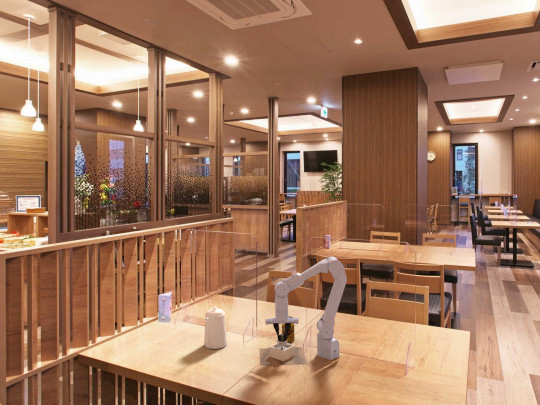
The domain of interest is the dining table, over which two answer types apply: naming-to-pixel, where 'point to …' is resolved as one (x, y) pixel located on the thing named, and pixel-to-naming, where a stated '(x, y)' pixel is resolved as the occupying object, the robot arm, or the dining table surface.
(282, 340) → the plunger
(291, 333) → the condiment
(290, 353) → the press housing
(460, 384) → the dining table surface
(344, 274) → the robot arm
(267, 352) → the board
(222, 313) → the coffeepot
